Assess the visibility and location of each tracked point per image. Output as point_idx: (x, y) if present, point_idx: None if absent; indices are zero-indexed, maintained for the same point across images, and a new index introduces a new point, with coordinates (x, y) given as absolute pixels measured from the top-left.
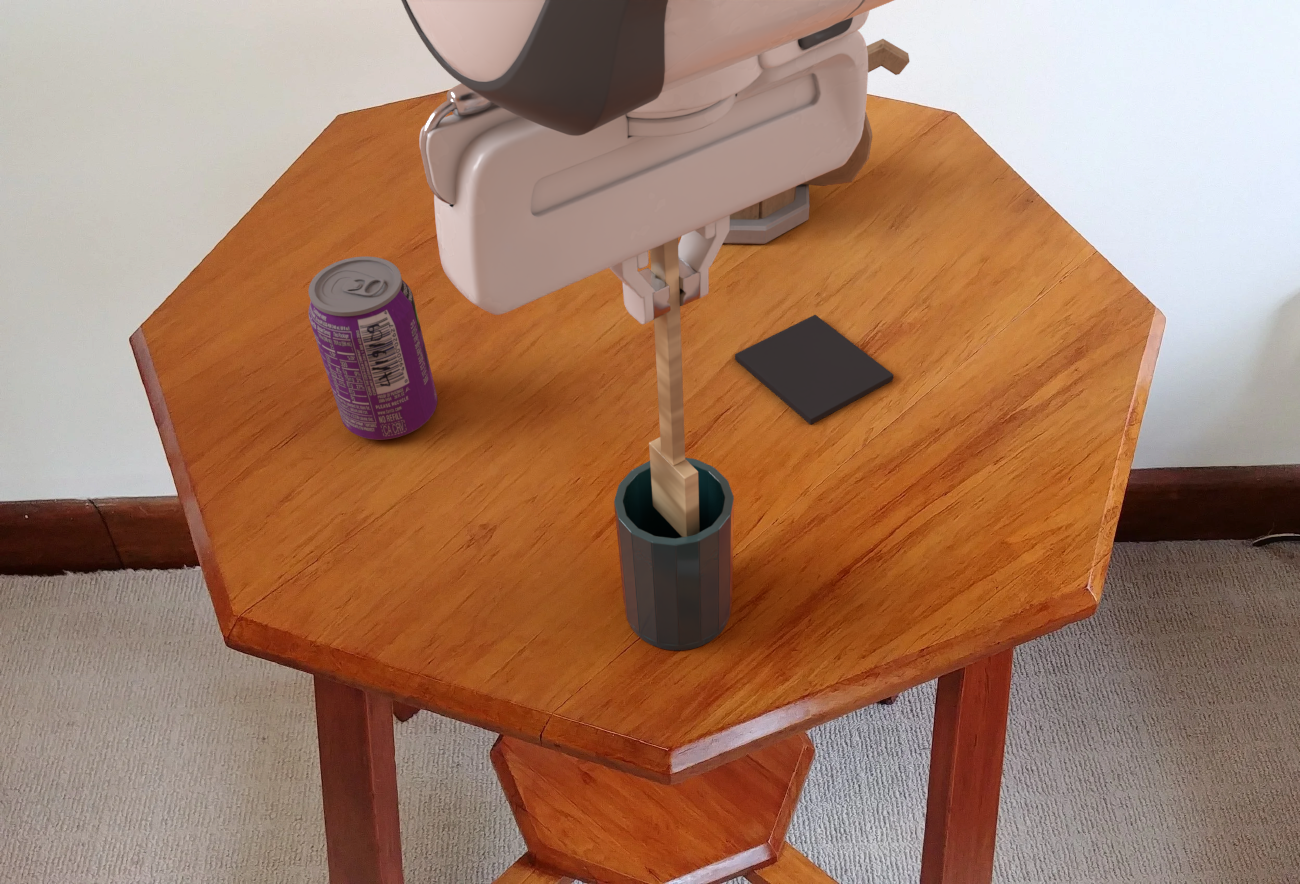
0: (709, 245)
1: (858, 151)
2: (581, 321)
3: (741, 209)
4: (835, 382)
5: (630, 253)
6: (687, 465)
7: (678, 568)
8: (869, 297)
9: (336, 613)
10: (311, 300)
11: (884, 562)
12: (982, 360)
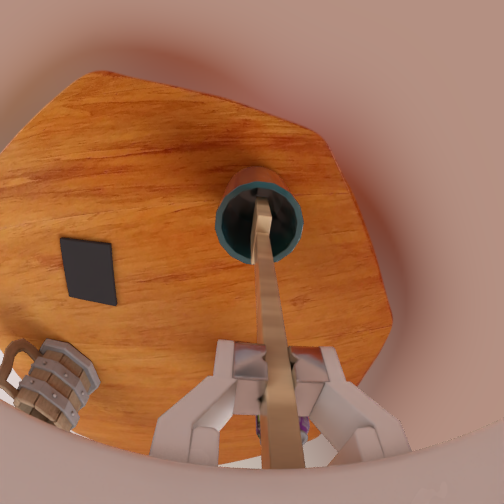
0: (207, 412)
1: (13, 347)
2: (168, 368)
3: (131, 455)
4: (84, 255)
5: (436, 457)
6: (259, 226)
7: (285, 186)
8: (44, 286)
9: (372, 304)
10: (306, 441)
11: (145, 141)
12: (26, 217)
